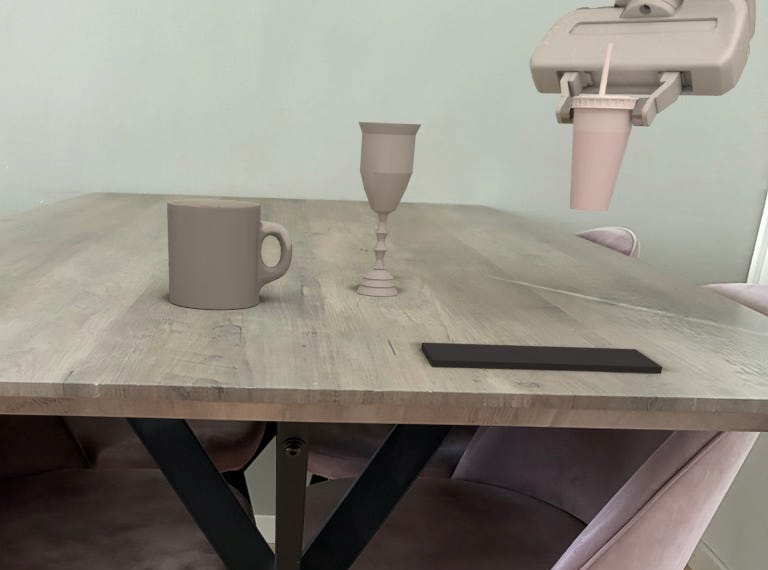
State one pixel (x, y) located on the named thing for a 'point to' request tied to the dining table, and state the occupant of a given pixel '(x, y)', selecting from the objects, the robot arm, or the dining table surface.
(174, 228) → the coffee mug
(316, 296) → the dining table surface
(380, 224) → the chalice
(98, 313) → the dining table surface
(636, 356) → the edge strip
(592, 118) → the smoothie
